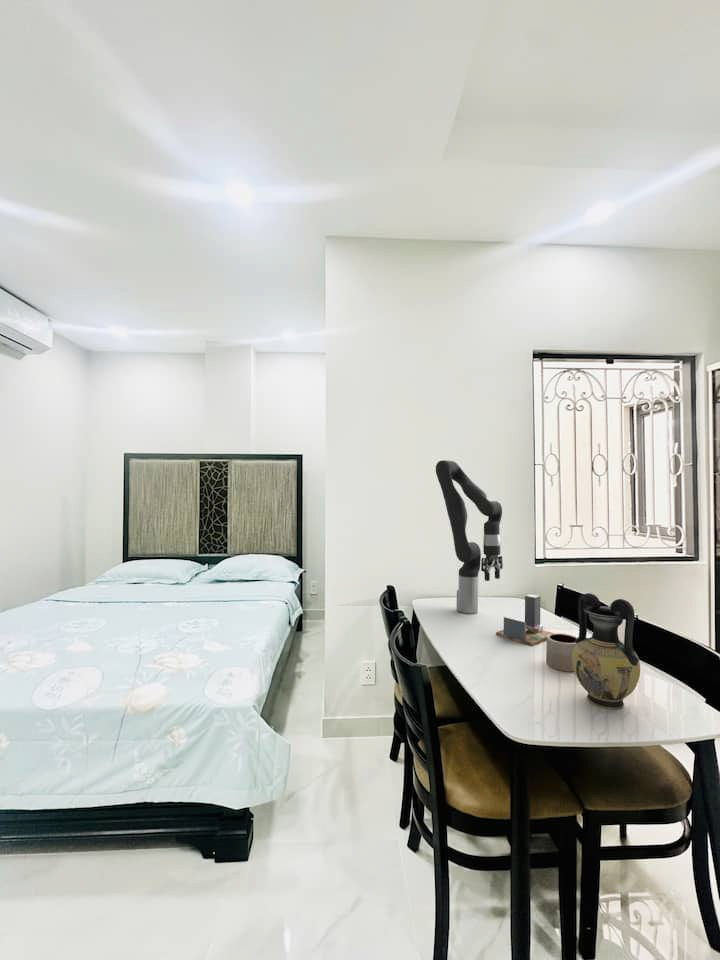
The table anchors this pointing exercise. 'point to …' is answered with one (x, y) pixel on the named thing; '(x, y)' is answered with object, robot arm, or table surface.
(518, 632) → the grey rectangular panel
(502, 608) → the table surface
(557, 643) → the planter
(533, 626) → the block
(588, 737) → the table surface
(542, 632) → the mottled brown square slab
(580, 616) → the amphora
